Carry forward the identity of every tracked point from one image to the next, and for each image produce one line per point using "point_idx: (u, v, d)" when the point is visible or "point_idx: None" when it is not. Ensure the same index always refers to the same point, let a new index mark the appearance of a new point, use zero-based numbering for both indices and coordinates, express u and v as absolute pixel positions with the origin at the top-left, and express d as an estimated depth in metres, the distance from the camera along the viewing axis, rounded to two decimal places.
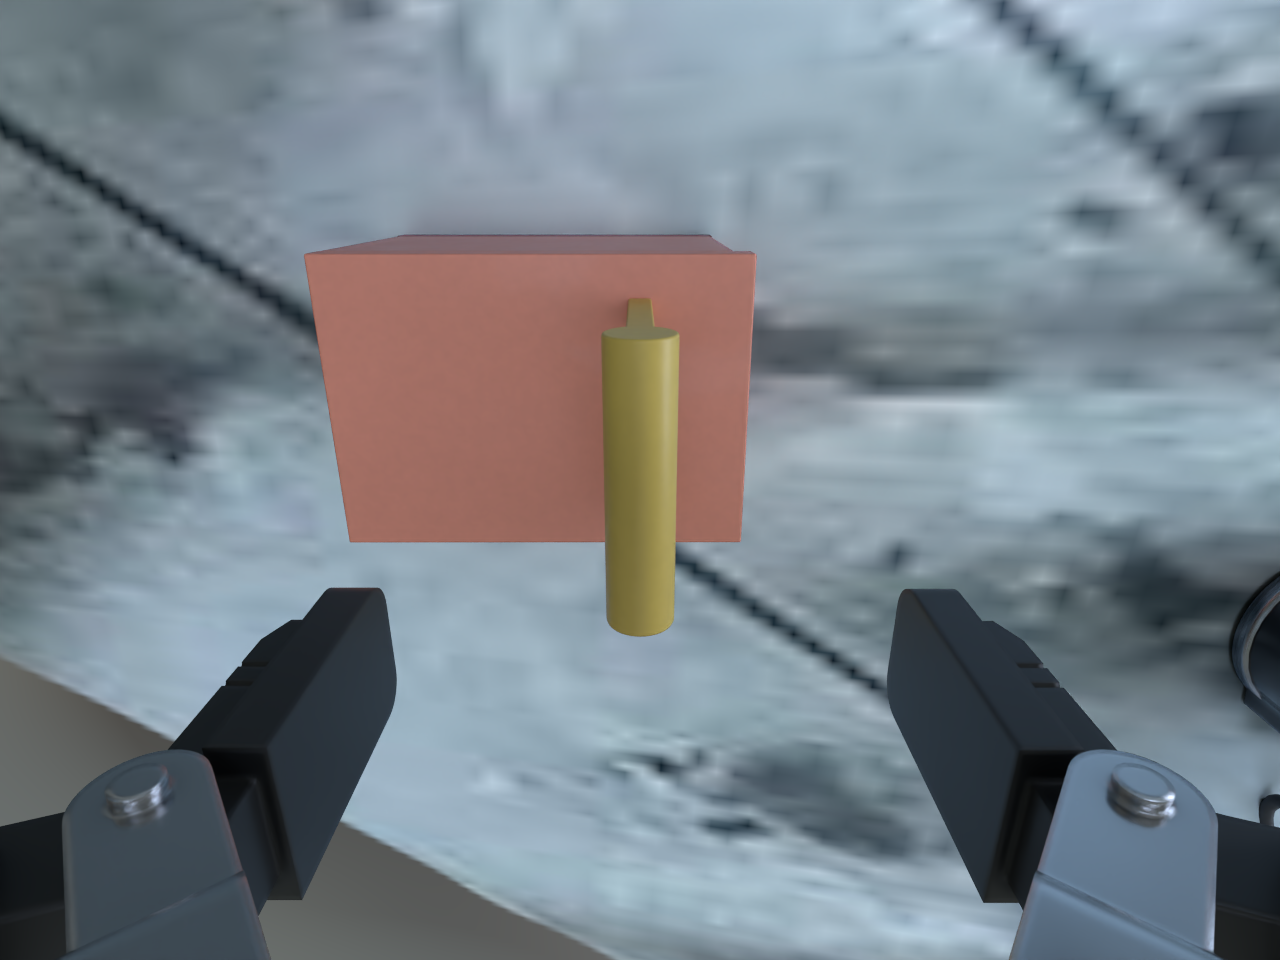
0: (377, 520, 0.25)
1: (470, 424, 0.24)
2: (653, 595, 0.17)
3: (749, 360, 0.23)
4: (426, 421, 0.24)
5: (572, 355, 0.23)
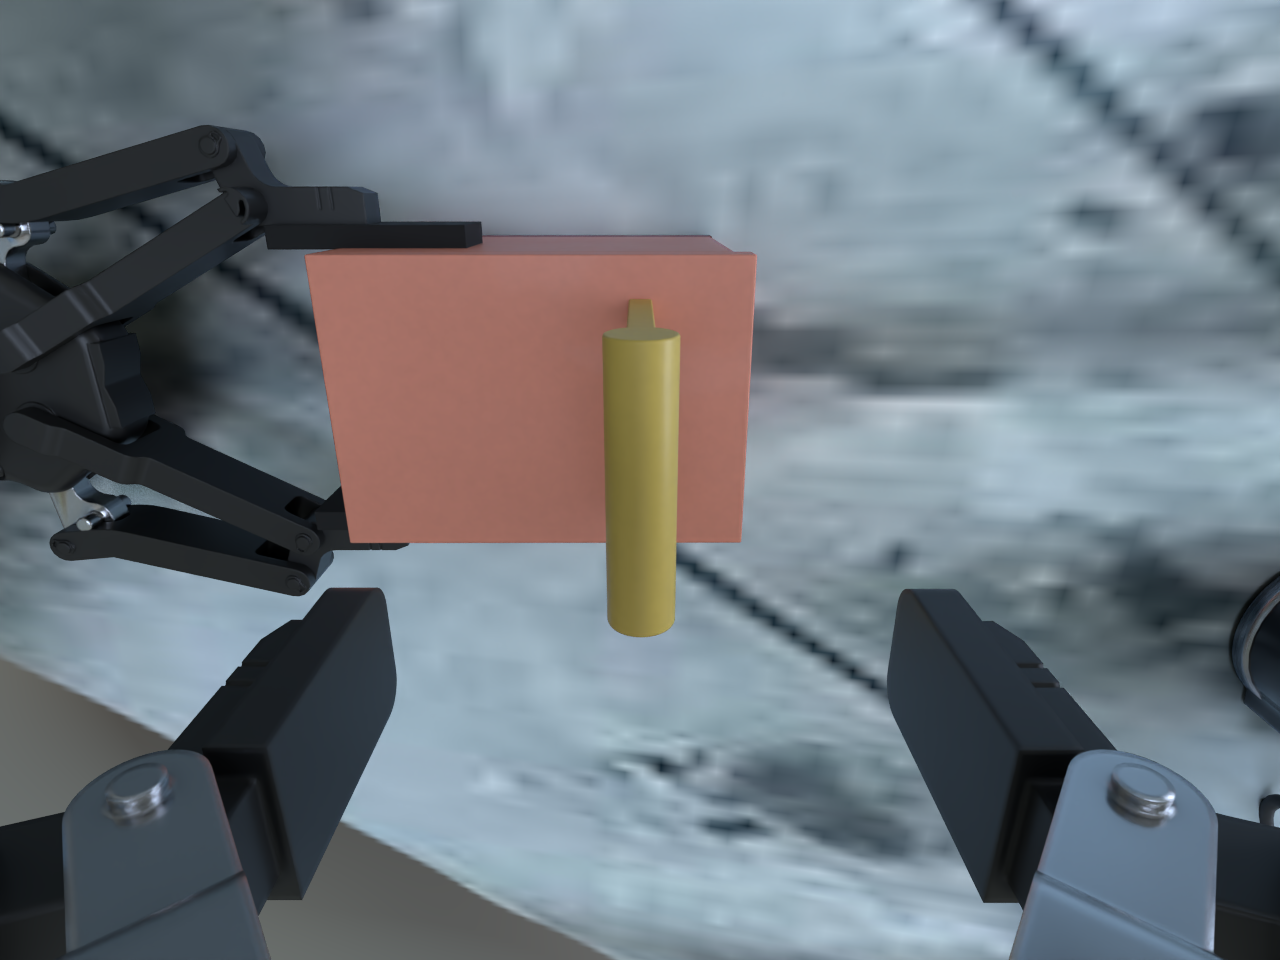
0: (377, 521, 0.25)
1: (471, 425, 0.24)
2: (654, 596, 0.17)
3: (749, 361, 0.23)
4: (426, 422, 0.24)
5: (573, 355, 0.23)
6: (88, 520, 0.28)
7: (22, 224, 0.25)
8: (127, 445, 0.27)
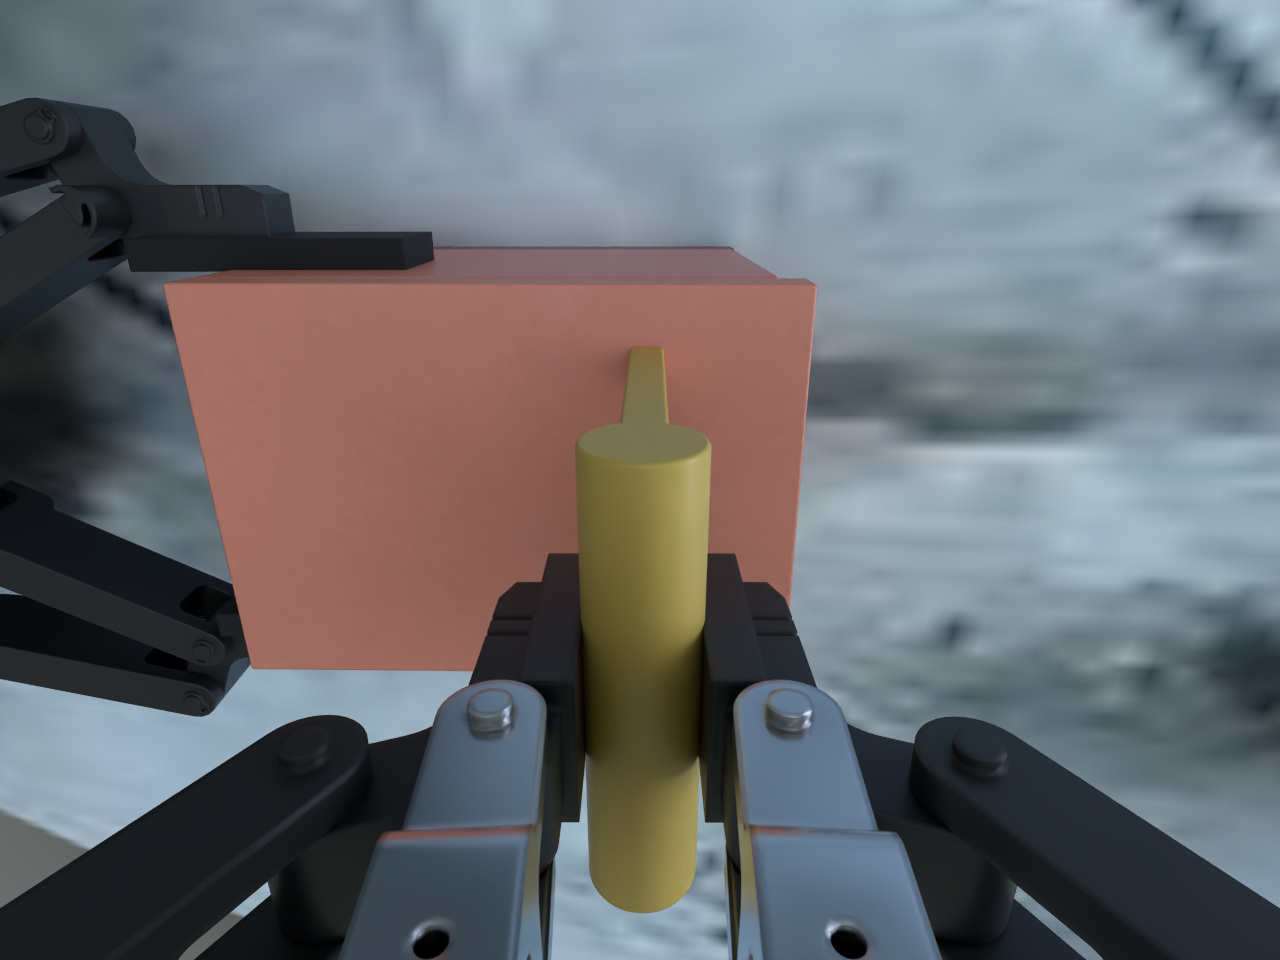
0: (287, 641, 0.18)
1: (409, 518, 0.17)
2: (663, 854, 0.11)
3: (802, 434, 0.16)
4: (348, 513, 0.17)
5: (550, 426, 0.16)
6: None
7: None
8: None
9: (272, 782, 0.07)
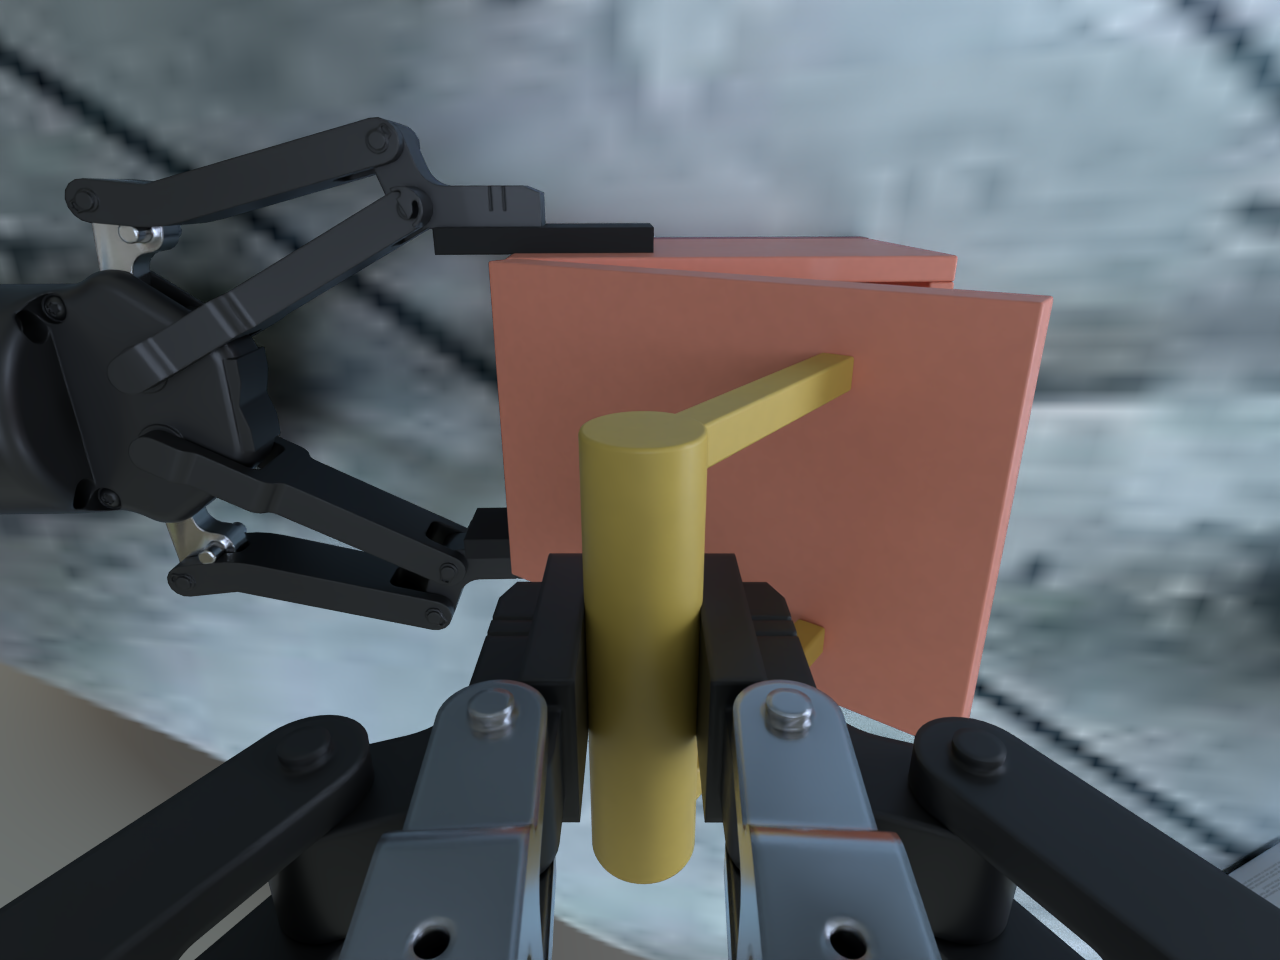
0: (534, 559, 0.22)
1: None
2: (631, 829, 0.11)
3: (1006, 479, 0.13)
4: None
5: None
6: (212, 552, 0.25)
7: (154, 228, 0.22)
8: (260, 470, 0.24)
9: (272, 782, 0.07)
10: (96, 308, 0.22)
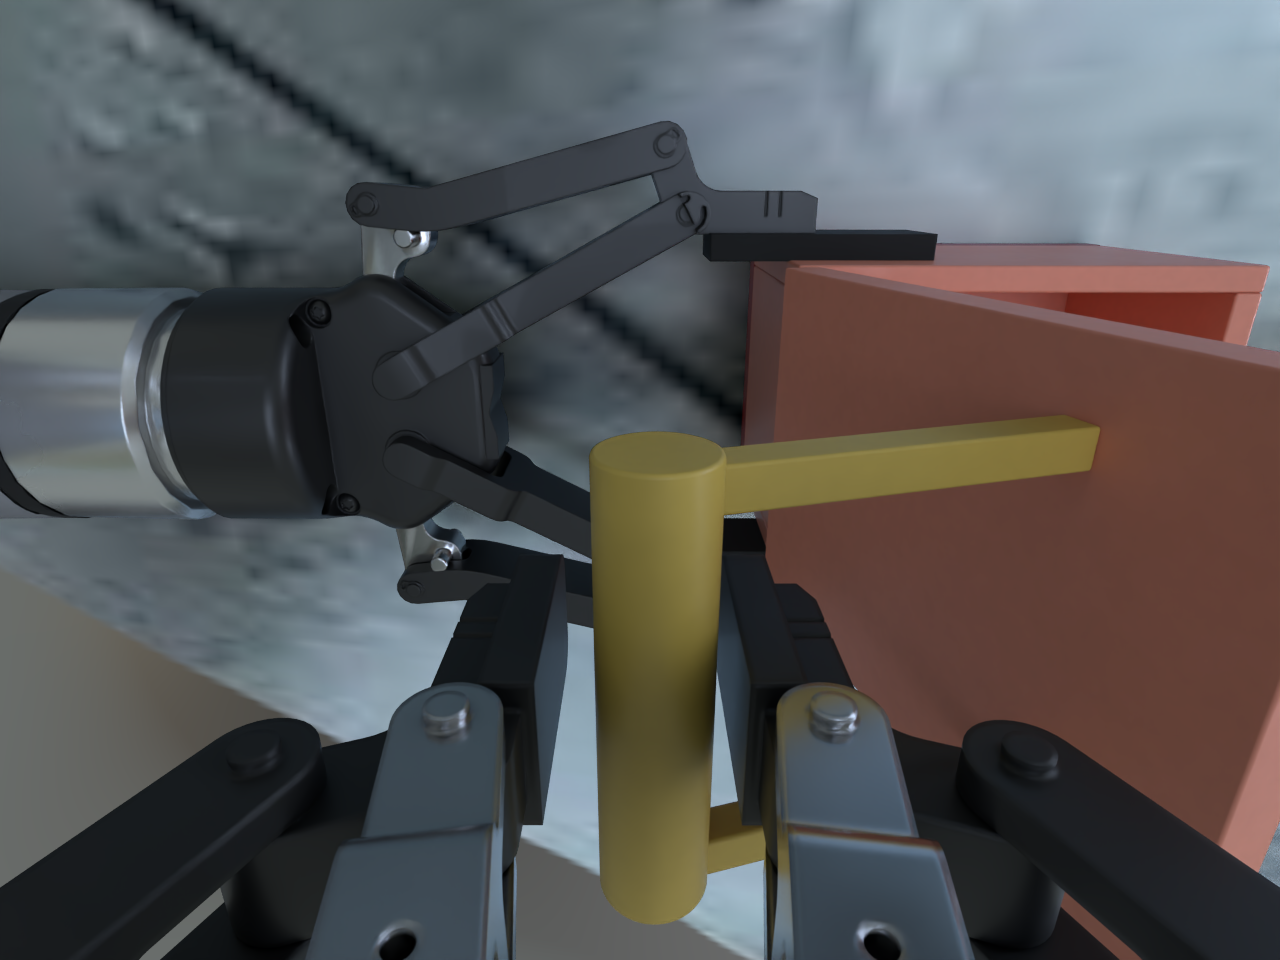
0: (779, 577, 0.21)
1: (855, 518, 0.17)
2: (612, 852, 0.11)
3: None
4: None
5: None
6: (444, 560, 0.25)
7: (422, 232, 0.22)
8: (502, 478, 0.24)
9: (223, 788, 0.07)
10: (361, 313, 0.22)
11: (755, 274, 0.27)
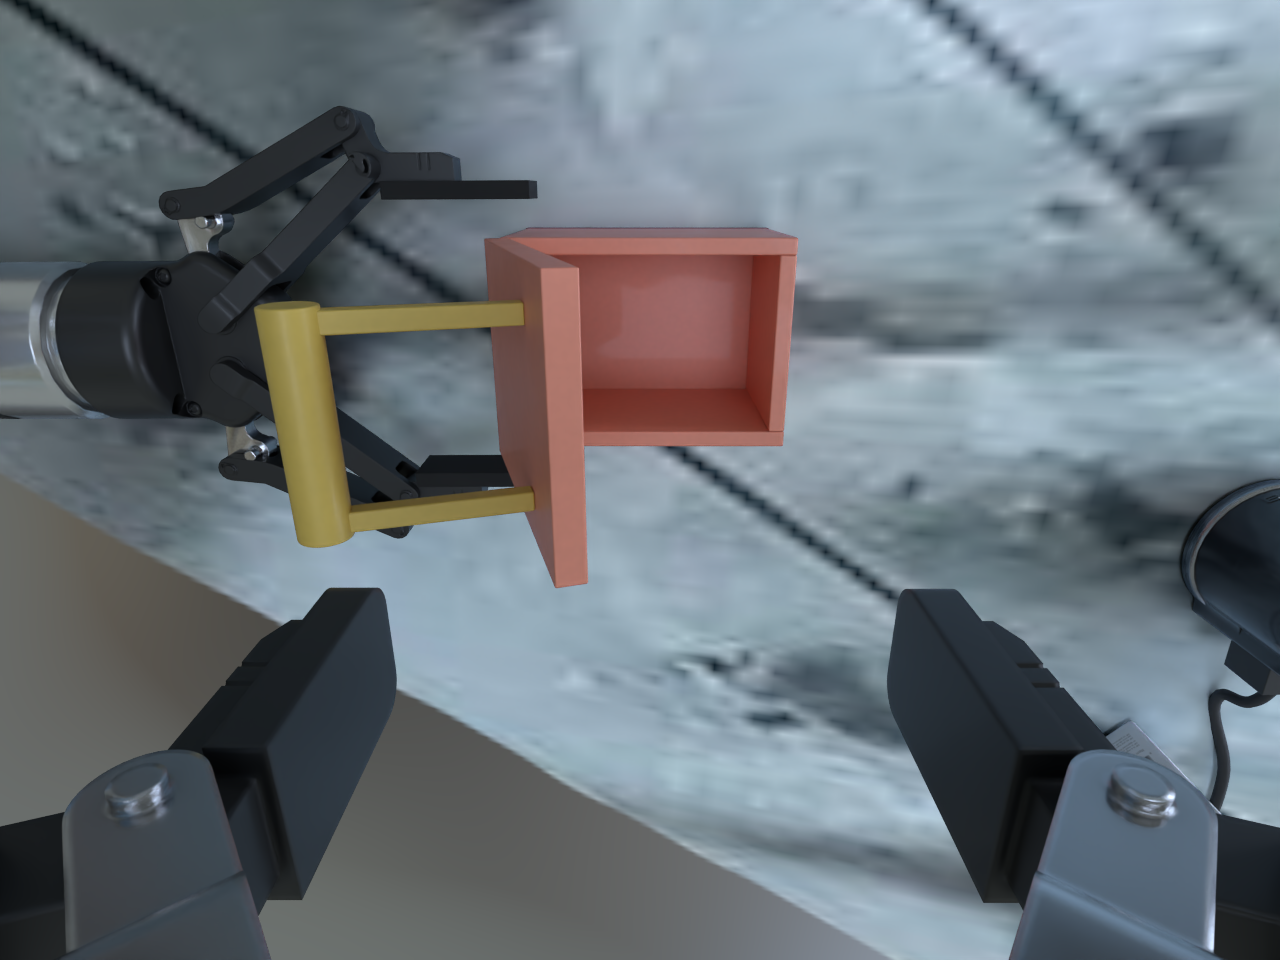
0: (501, 441, 0.33)
1: (506, 385, 0.29)
2: (294, 511, 0.22)
3: (545, 387, 0.20)
4: (502, 375, 0.30)
5: (515, 344, 0.25)
6: (254, 453, 0.37)
7: (216, 216, 0.33)
8: None
9: None
10: (191, 278, 0.34)
11: None
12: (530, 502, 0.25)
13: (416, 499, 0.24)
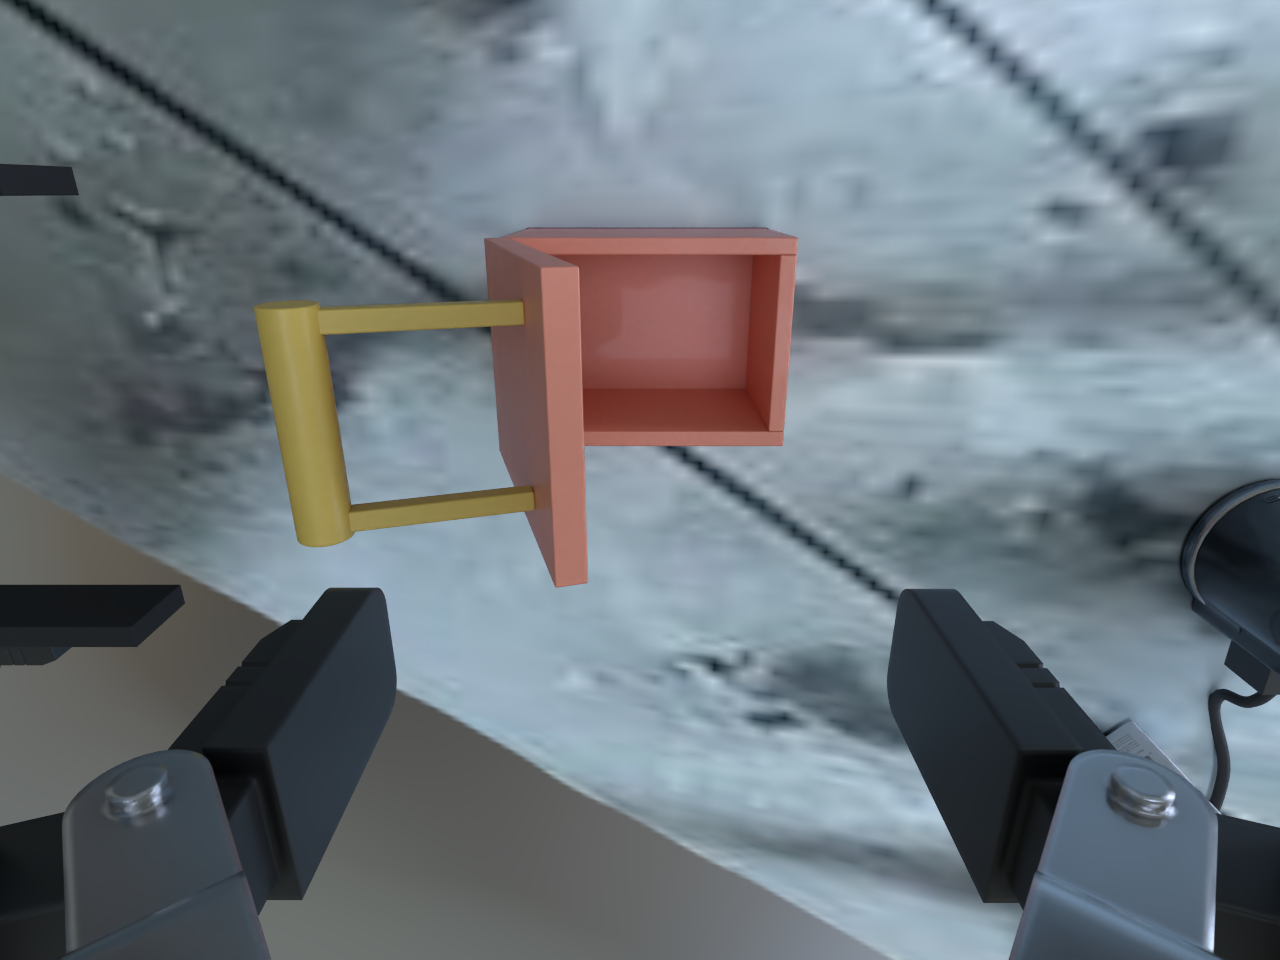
0: (501, 440, 0.33)
1: (506, 385, 0.29)
2: (294, 510, 0.22)
3: (545, 386, 0.20)
4: (502, 374, 0.30)
5: (515, 344, 0.25)
6: None
7: None
8: None
9: None
10: None
11: None
12: (530, 501, 0.25)
13: (416, 499, 0.24)
